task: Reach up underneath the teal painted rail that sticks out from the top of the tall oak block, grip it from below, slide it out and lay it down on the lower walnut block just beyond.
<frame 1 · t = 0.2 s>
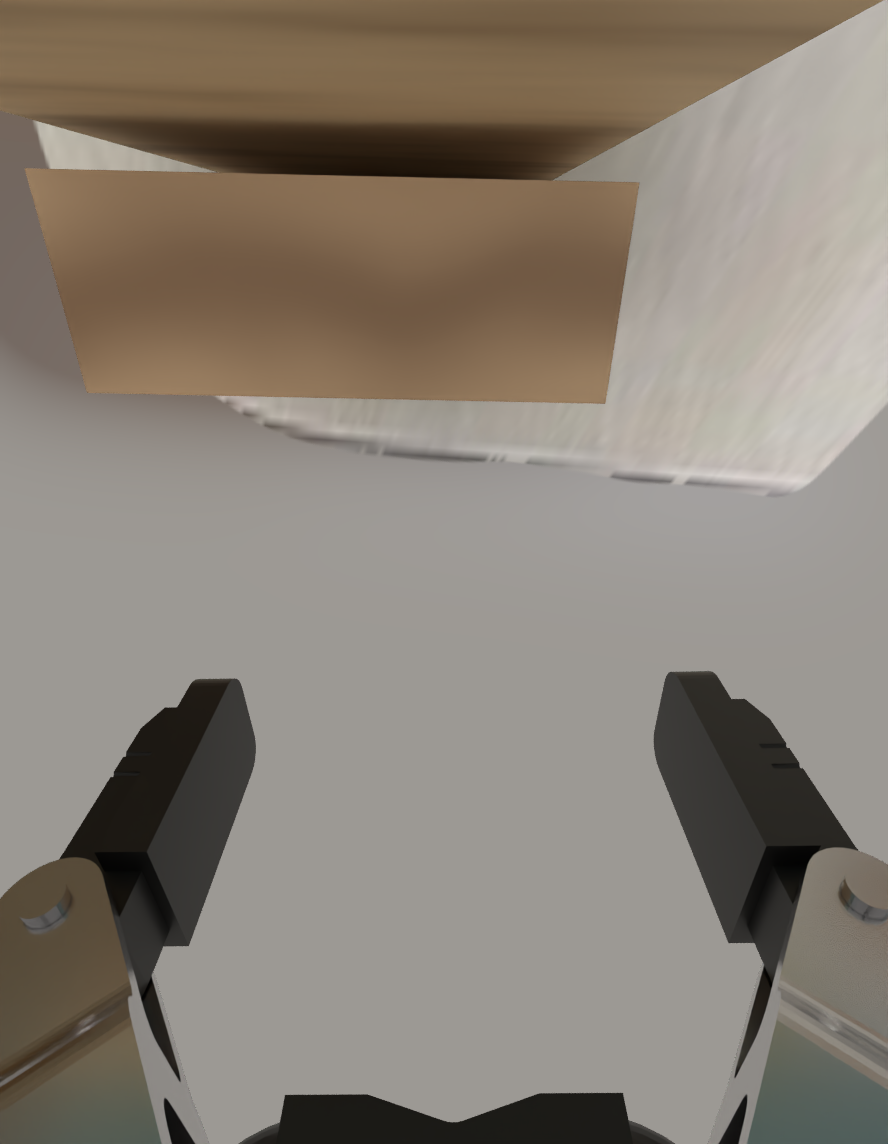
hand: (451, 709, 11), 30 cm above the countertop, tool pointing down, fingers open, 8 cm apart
step: (400, 262, 34), on the countertop
stand: (398, 97, 30), on the countertop
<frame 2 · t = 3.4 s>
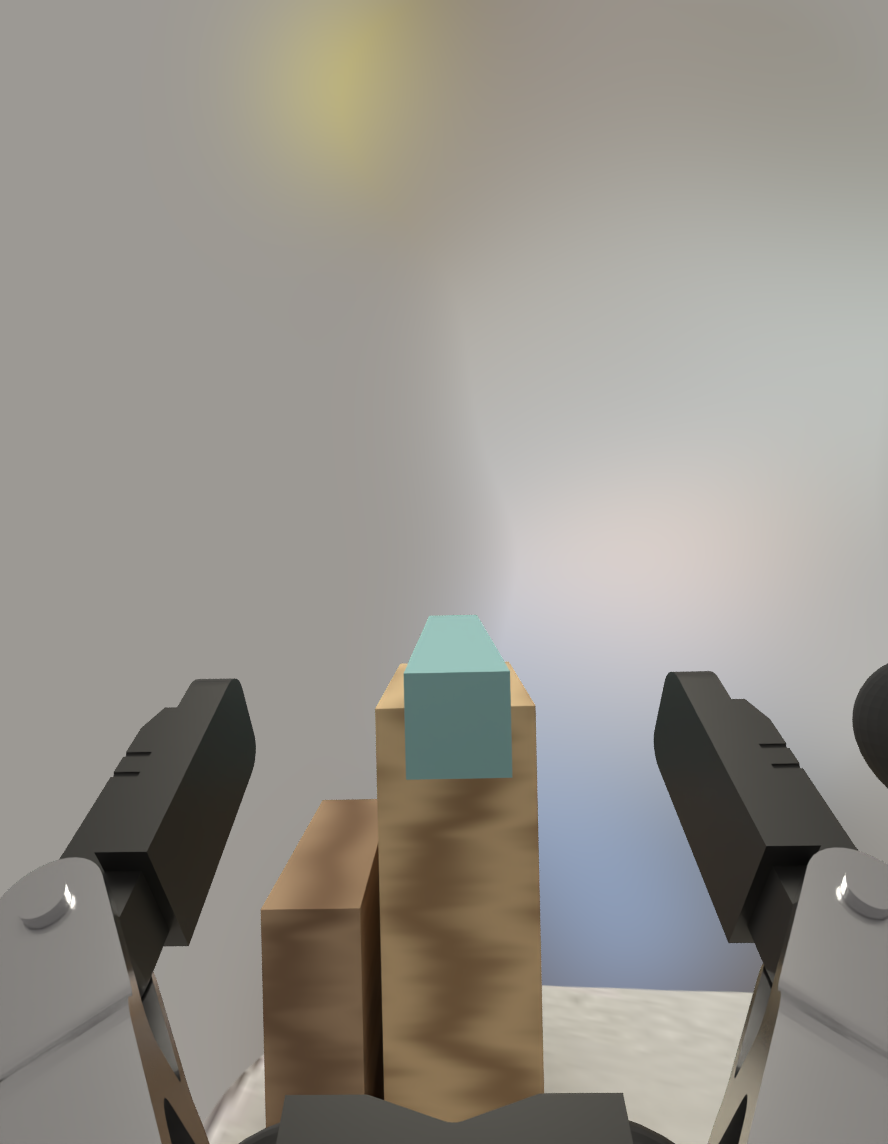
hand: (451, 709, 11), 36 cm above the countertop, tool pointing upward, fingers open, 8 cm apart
rail: (455, 698, 31), point 32 cm above the countertop, touching stand
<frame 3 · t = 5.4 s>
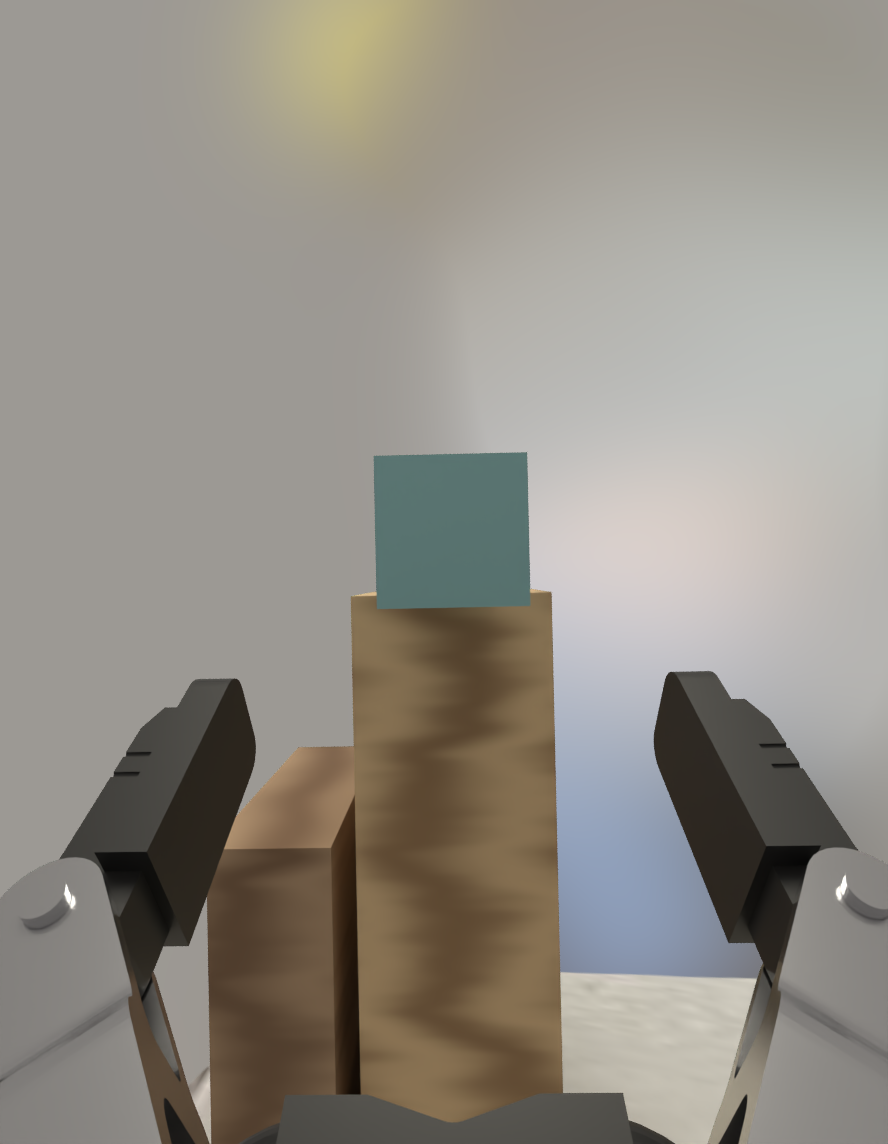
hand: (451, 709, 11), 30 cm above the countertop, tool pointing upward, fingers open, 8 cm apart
rail: (451, 592, 25), point 32 cm above the countertop, touching stand
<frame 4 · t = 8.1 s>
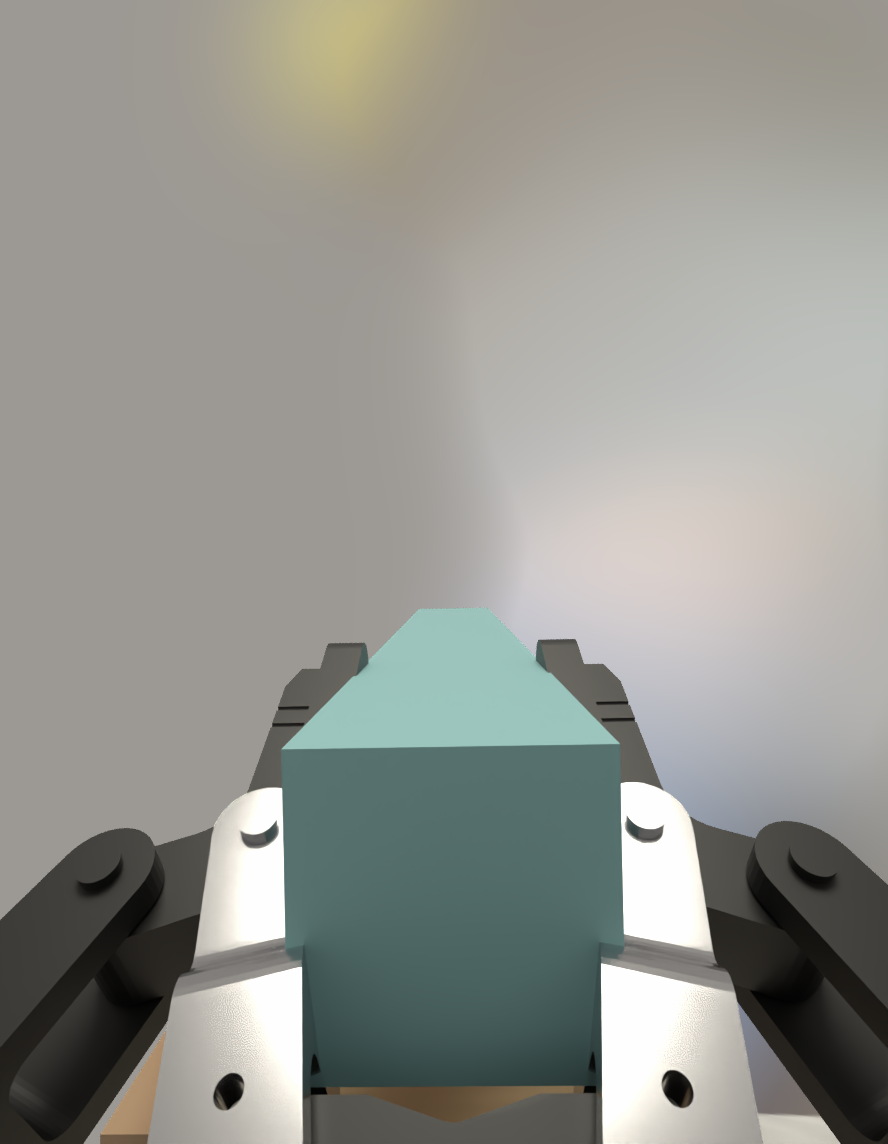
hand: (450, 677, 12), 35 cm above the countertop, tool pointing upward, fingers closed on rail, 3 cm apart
rail: (455, 745, 18), point 32 cm above the countertop, touching gripper, stand
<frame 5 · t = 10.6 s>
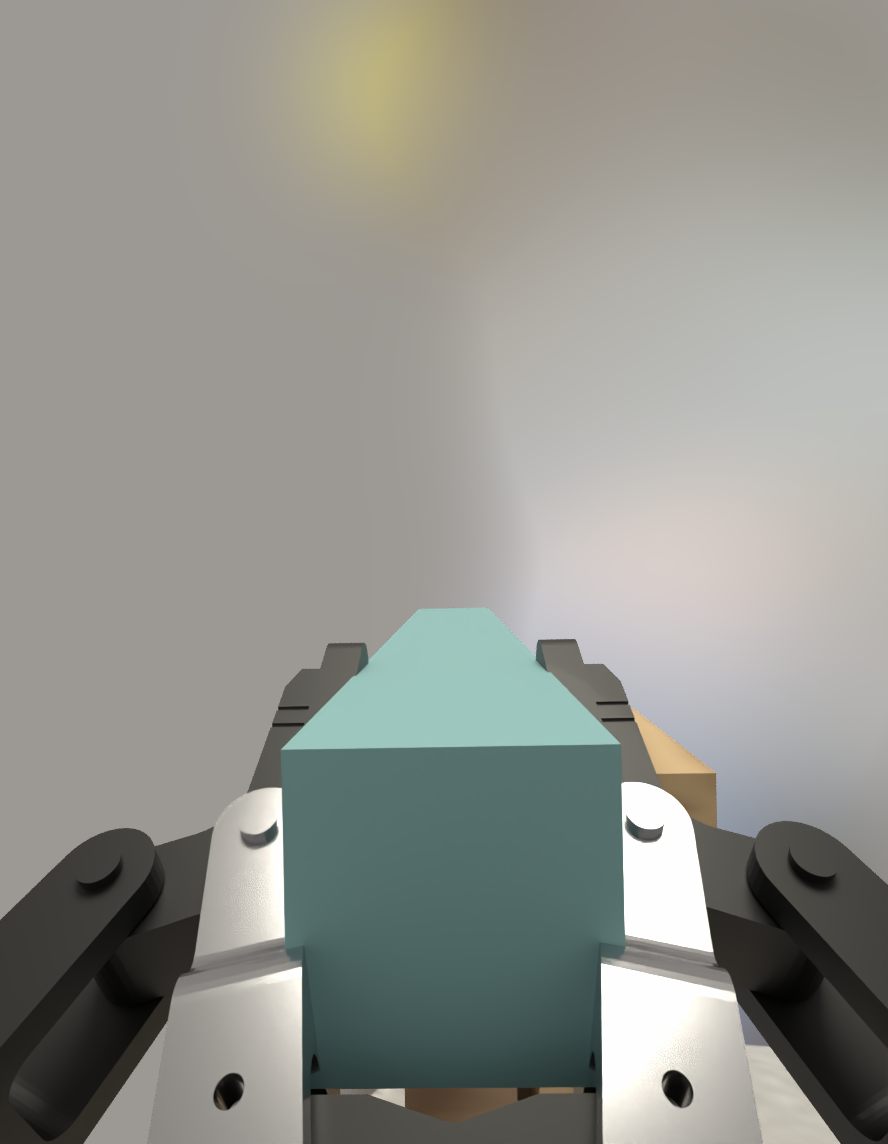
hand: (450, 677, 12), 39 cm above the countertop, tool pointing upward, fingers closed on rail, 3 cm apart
rail: (455, 745, 18), point 36 cm above the countertop, touching gripper
when the fingers open (27 cm above the countertop, at t = 13.3 s): rail drops 2 cm, resting on step.
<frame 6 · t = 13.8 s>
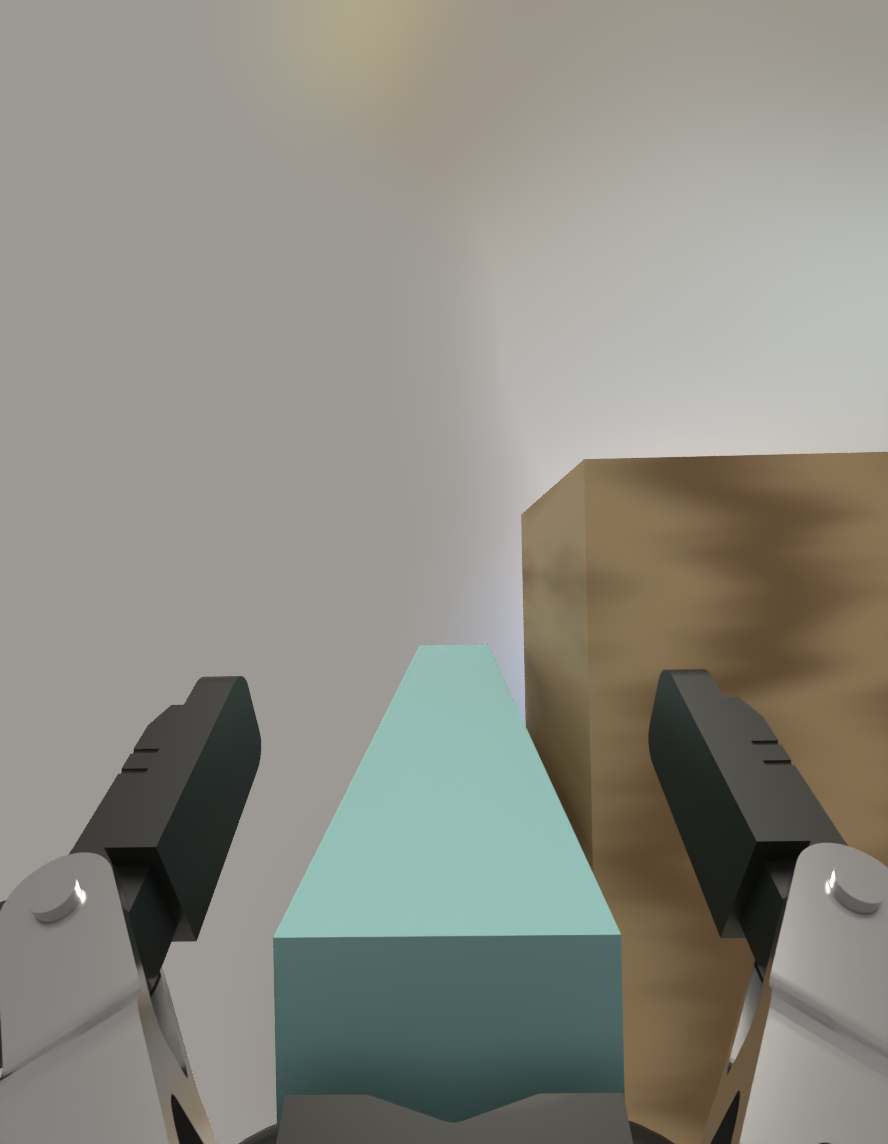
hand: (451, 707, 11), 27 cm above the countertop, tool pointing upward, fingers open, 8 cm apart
rail: (454, 807, 18), point 22 cm above the countertop, touching step
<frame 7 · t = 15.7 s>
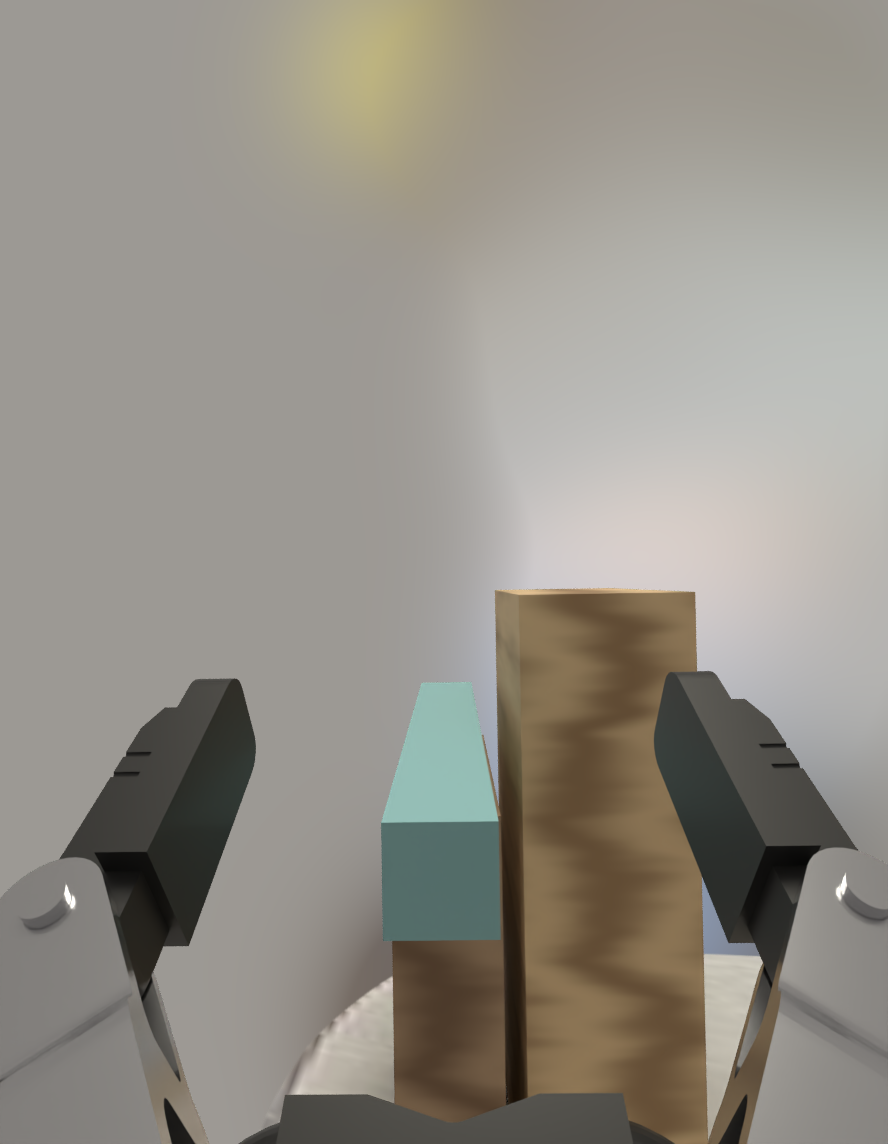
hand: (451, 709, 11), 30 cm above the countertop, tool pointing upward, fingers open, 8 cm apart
rail: (445, 793, 29), point 22 cm above the countertop, touching step
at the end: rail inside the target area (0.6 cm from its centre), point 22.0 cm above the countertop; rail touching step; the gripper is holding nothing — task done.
